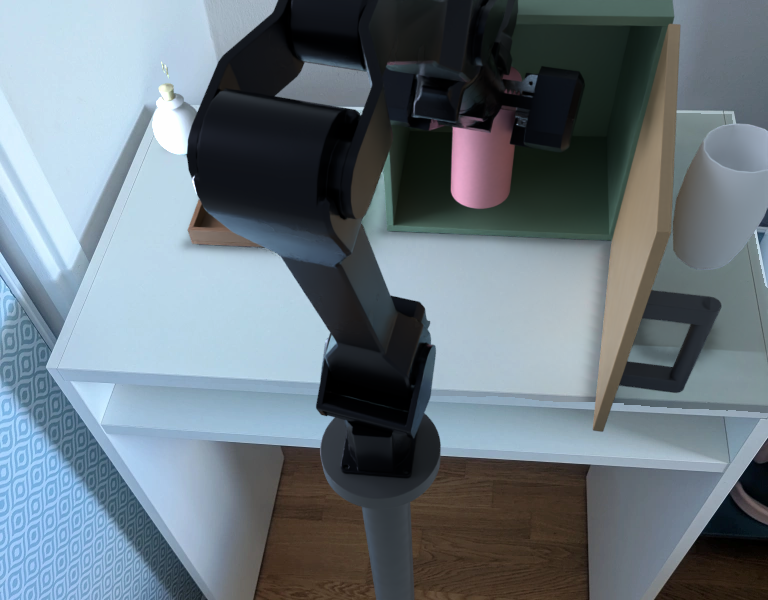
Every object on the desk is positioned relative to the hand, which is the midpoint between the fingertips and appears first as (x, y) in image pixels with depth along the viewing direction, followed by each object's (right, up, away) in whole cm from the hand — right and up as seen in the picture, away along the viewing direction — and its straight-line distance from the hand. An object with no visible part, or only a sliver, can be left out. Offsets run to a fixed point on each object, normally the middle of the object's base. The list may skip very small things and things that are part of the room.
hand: (487, 121), depth 76 cm
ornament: (-36, +7, +21) cm, 42 cm away
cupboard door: (+15, -21, +1) cm, 26 cm away
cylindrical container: (0, -4, +6) cm, 7 cm away
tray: (-23, 0, +15) cm, 28 cm away
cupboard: (+4, 0, +14) cm, 14 cm away
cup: (+19, -21, +1) cm, 28 cm away
